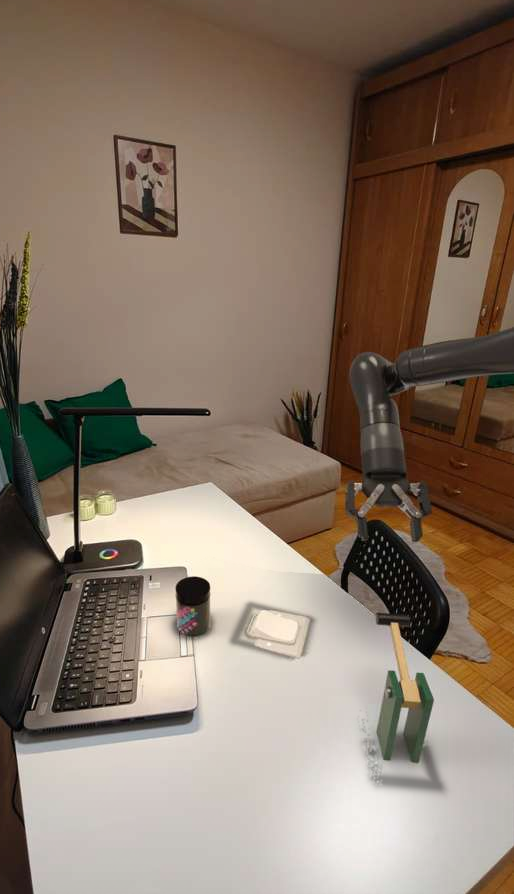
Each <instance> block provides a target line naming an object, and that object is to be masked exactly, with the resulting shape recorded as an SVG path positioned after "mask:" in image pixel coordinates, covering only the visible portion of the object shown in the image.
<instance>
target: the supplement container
mask: <svg viewBox="0 0 514 894" xmlns="http://www.w3.org/2000/svg"><path fill="white" fill-rule="evenodd" d="M175 607H176V612H175V613H176V629H177V630H178V632H179V633H180V634H181V635H183V636H185V637H189V638H196V637H200V636H202V635H204V634H207V632H208V631H209V630H210V628H211V584H210V582H209V581H208V580H207V579H206V578H204V577H201V576H196V575H195V576H192V575H191V576H187V577H183V578H182V579H180V580H179V581H178V582H177V583H176V585H175Z"/></svg>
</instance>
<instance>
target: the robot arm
mask: <svg viewBox="0 0 514 894" xmlns="http://www.w3.org/2000/svg"><path fill="white" fill-rule="evenodd" d="M512 374H514V326H512V327H510V328H509V327H508V328H507V329H504V330H501V331H497V332H493V333H490V334H485V335H480V336H473V337H468V338H458V339H450V340H444V341H438V342H433V343H429V344H424V345H420V346H416V347H412V348H409V349H406V350H404V351H402V352H401V353H400V354H399V355H398V356H397V359H396V362H395V361H394V362H393V361H390V360H388V359H386V358H385V357H383V356H382V355H380V354H378V353H376V352H374V351H364V352H362V353H360V354H358V355H357V356H356V357H355V358H354V359H353V361H352V363H351V365H350V368H349V383H350V386H351V391H352V393H353V397H354V400H355V403H356V405H357V408H358V411H359V422H360V423H359V424H360V450H359V452H360V456H361V469H362V482H355V481H353V480H349V481H347V483H346V485H345V503H344V504H345V508H344V509H345V510H344V511H345V515H346V516H347V517H352V518H354V519H355V521H356V532H357V536H358V538H360V539H361V542H367V541H368V540H369V531H368V519H367V517H366V515H367V513H368V512H369V511H370V509H371V508H372V507H373V506H375V507H376V508H384V507H387V508H394V509H395V508H396V507H398V508H399V509H400V510H401V511H402V512H403V513H405V515H407V517H409V519H410V520H409V529H410V539H411V542H412V543H419V541H420V539H421V538H423V526H422V519H424V518H427V517H428V516H430V515H432V513H433V510H432V505H431V504H432V503H431V499H430V493H429V489H428V483H427V481H425V480H423V481H422V480H421V481H420V482H418V483H417V482H415V483H414V482H413V483H410V482H409V480H408V476H407V474H408V473H407V466H406V465H407V464H406V456H405V448H404V440H403V435H402V432H401V425H400V416H399V408H398V405H397V403H396V401H395V400H394V399H393V398H392V397H391V396H395V395H398V394H400V393H403V392H406V391H408V390H411V389H413V388H414V387H422V386H429V385H436V384H442V383H449V382H454V381H459V380H466V379H471V378H472V379H473V378H477V377H485V376H495V375H496V376H497V375H512ZM359 491H361V492H362V493H363V494H364V496H365V497H366V498H367V499H366V501H365V502H364V503H363V505H361V508H360V509H358V508H356V507H355V503H356V502H355V497H356V496H357V494H358V493H359ZM410 491H411V492H412V493H413V495H414V496H416V498H417V503H418V508H417V507H416V506H415V504H414V501H412V499H410V497H409V496H408V494H409V492H410Z"/></svg>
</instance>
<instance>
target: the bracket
mask: <svg viewBox="0 0 514 894" xmlns="http://www.w3.org/2000/svg"><path fill="white" fill-rule="evenodd" d="M396 673H397V672H396V671H395V670H387V674H386V679H385V683H384V684H385V685H384V690H383V695H382V700H381V706H380V712H379V717H378V722H377V727H376V735H377V740H378V743H379V748H380V752H381V756H382V760H383V761H389V762H390V761H391V758H392V754H393V749H394V743H395V741H396V740H395V739H396V735H397V732H398V731H397V730H398V726H399V720H400V716H401V712H402V708H403V707H402V702H403V698H404V697H403V694H402V691H401V688H400V685H399V680H398V677H397V674H396ZM414 681H416V683H417V687H418V691H419V696H420V700H421V703H420V704H419V705H418V707H417V708H407V709H408V710H407V714H406V719H405V724H404V727H403V732H402V735H403V738H404V742H405V745H406V748H407V751H408V754H409V758H410V762H411V763H413V764H414V763H415V764H419V762H420V759H421V755H422V751H423V747H424V742H425V739H426V734H427V731H428V726H429V722H430V718H431V716H432V715H431V714H432V710H433V707H434V703H435V698H434V696H433V693H432V690H431V688H430V685H429V683H428V681H427V679H426V676H425V673H424V672H416V673H415V678H414Z"/></svg>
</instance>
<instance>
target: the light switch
mask: <svg viewBox="0 0 514 894" xmlns="http://www.w3.org/2000/svg"><path fill="white" fill-rule="evenodd" d="M310 621H311V619H310V618H308V617H307V616H303V615H298V614H293V613H288V612H283V611H278V610H271V609H268V610H266V609H262V610H261V611H259V612H255V613H254V614H253V615H252V617H251V620H250V622H249V625H248V628H247V629H246V636H248V637H249V638H253V639H256V640H255V643H254V646H255V647H258V648H261V649H263V650H266V651H270V652H273V653H277V654H280V655H284V656H287V657H291V658H295V659H301V658H302V654H303V650H304V647H305V646H304V645H305V642H306V637H307V634H308V631H309V625H310V623H311V622H310Z"/></svg>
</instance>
